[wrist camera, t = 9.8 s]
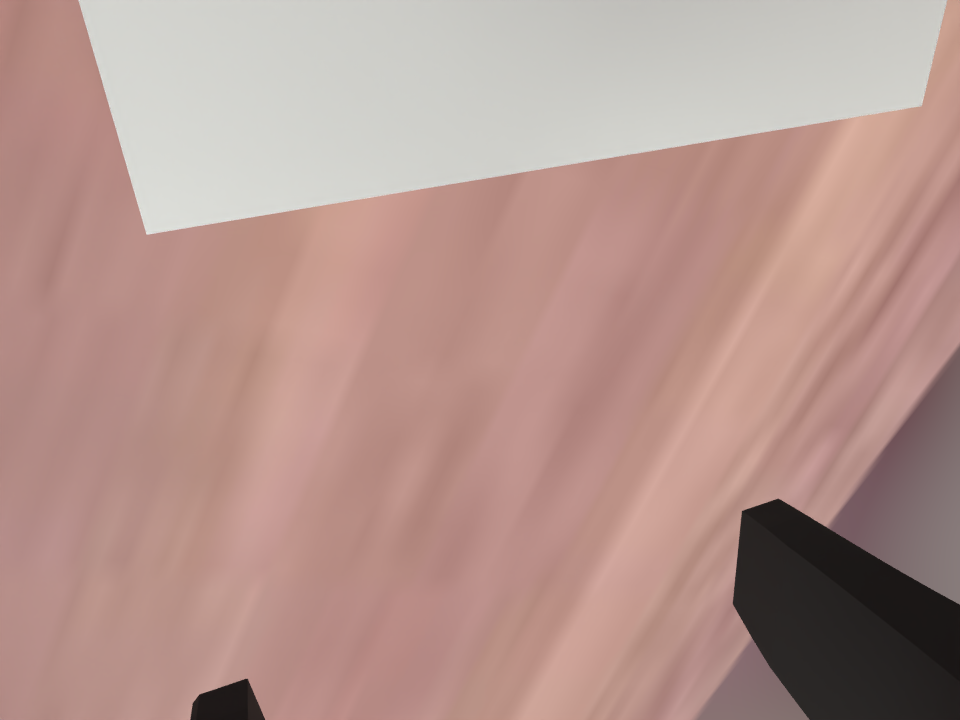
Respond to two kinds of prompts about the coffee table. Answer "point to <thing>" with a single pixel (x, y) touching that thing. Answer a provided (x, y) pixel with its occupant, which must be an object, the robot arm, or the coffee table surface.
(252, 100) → the socket block
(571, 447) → the coffee table surface
